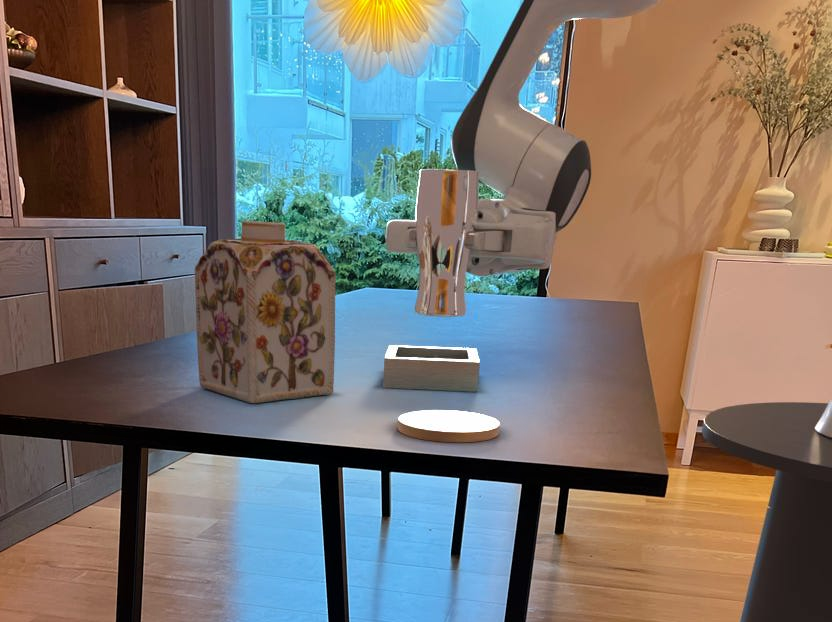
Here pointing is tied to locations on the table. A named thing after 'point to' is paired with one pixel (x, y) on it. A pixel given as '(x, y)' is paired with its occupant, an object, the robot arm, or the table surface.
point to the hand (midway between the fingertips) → (441, 239)
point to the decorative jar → (265, 316)
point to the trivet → (448, 426)
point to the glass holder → (431, 368)
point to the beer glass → (444, 238)
